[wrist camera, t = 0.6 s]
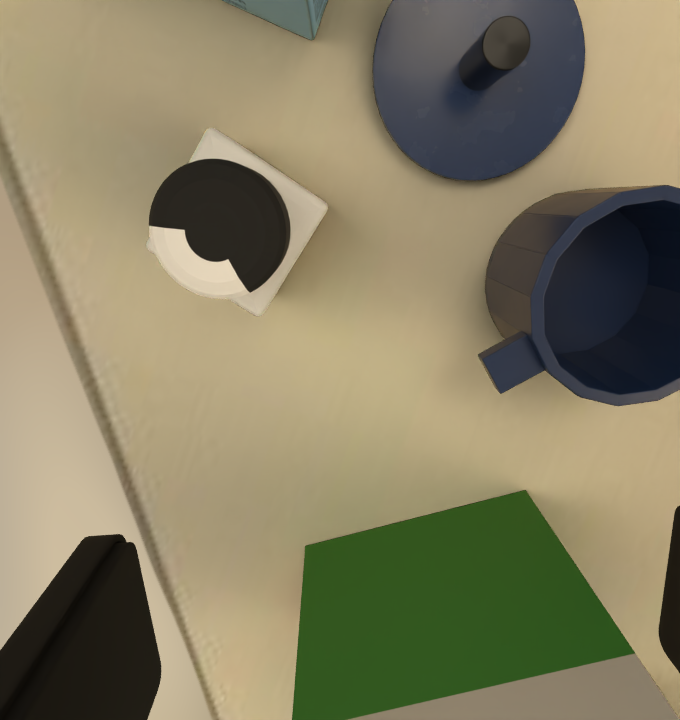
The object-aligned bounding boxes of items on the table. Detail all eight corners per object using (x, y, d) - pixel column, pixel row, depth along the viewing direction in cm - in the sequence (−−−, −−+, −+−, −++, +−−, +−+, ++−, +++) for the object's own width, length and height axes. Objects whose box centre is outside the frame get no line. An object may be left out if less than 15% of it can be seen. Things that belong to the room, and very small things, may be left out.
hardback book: (331, 618, 43) (331, 1097, 20) (305, 546, 41) (271, 987, 18) (541, 567, 42) (797, 1013, 19) (525, 489, 40) (791, 886, 17)
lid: (333, 31, 30) (333, -10, 25) (524, -98, 29) (573, -174, 23) (430, 218, 34) (451, 221, 28) (608, 112, 32) (669, 92, 26)
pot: (420, 270, 35) (447, 291, 27) (656, 132, 32) (765, 108, 24) (493, 406, 38) (538, 462, 29) (715, 288, 35) (830, 313, 27)
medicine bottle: (233, 140, 32) (178, 105, 21) (330, 205, 33) (329, 206, 22) (179, 239, 34) (101, 257, 22) (273, 297, 35) (245, 343, 24)
